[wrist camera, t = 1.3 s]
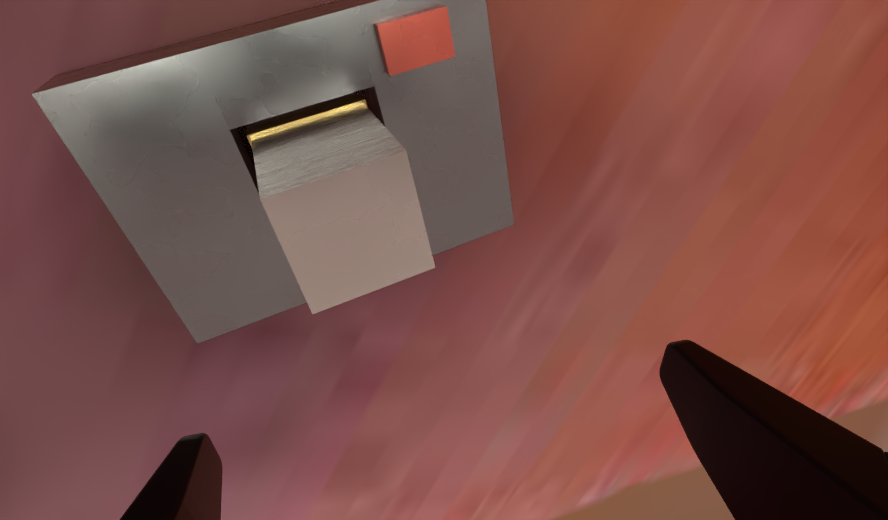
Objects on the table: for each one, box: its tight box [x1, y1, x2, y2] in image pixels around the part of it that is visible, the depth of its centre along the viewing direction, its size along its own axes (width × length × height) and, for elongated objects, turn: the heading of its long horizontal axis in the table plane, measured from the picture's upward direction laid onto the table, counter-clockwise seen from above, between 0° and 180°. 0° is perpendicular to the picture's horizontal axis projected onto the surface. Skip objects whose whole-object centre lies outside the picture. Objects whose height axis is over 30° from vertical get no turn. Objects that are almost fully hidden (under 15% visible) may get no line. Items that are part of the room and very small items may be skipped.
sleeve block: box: [32, 0, 514, 344], centre depth 19 cm, size 14×10×3 cm
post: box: [246, 92, 435, 314], centre depth 17 cm, size 4×4×7 cm
